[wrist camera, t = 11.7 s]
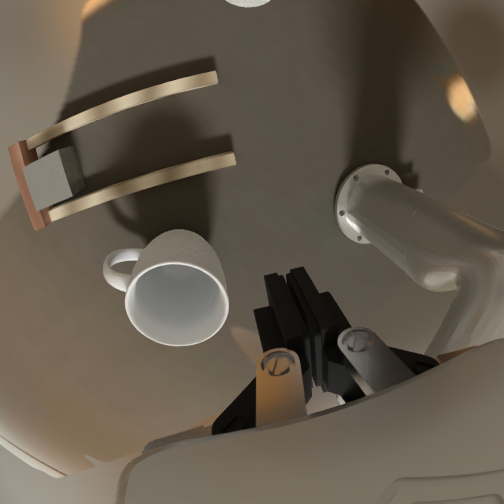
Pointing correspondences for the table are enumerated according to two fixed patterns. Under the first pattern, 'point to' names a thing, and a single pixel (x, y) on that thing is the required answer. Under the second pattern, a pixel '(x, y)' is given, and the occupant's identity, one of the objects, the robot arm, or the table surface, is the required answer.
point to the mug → (173, 288)
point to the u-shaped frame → (27, 154)
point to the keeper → (54, 177)
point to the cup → (248, 2)
